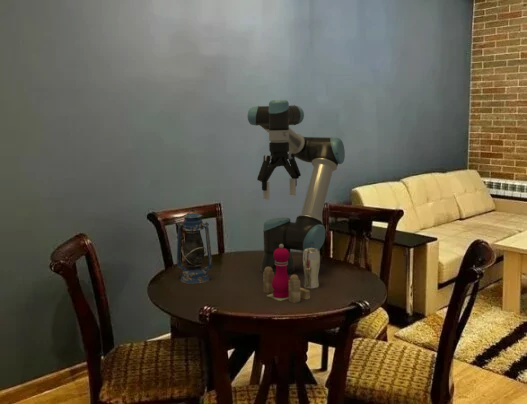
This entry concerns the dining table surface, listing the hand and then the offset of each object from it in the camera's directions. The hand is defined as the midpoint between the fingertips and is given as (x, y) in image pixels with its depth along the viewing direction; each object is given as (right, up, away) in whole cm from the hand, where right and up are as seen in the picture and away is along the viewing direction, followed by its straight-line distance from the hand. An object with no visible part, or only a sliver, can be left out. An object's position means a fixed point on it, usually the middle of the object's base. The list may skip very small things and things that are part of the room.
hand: (279, 197), depth 212 cm
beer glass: (+13, -36, +8) cm, 39 cm away
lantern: (-35, -35, +20) cm, 53 cm away
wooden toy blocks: (+1, -37, -2) cm, 38 cm away
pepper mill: (0, -37, -3) cm, 38 cm away
